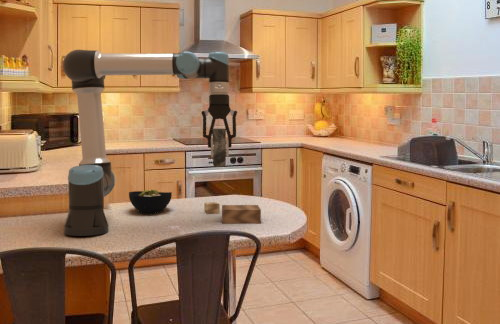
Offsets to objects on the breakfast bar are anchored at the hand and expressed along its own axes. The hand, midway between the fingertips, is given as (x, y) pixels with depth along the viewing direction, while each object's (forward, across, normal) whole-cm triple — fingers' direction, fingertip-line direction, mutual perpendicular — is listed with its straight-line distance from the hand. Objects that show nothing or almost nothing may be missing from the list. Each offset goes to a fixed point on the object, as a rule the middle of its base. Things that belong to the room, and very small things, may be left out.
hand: (219, 156), depth 204 cm
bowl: (+24, -28, +18) cm, 41 cm away
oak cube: (+24, -3, +14) cm, 28 cm away
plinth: (+24, +8, 0) cm, 26 cm away
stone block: (+4, -2, 0) cm, 5 cm away
